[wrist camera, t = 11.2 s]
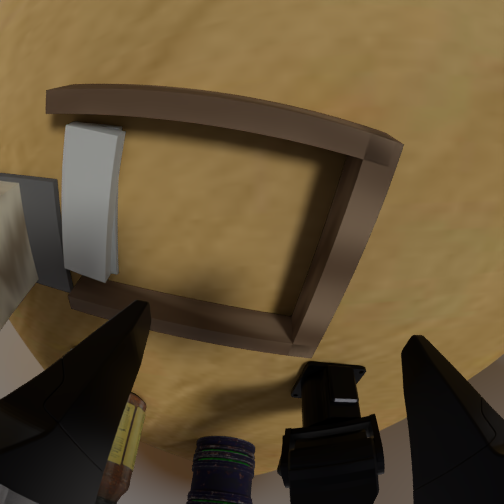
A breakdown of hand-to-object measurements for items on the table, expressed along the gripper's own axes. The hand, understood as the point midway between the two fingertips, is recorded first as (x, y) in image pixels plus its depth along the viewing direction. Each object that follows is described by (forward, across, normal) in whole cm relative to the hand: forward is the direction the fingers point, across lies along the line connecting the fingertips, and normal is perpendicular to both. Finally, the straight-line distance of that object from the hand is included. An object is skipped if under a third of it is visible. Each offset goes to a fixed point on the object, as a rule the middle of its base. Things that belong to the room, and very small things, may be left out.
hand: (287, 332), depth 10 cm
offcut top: (+11, +13, +3) cm, 18 cm away
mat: (+12, +22, +6) cm, 26 cm away
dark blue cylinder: (+12, 0, +43) cm, 45 cm away
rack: (+12, +5, +3) cm, 13 cm away
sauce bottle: (+12, +14, +32) cm, 37 cm away
